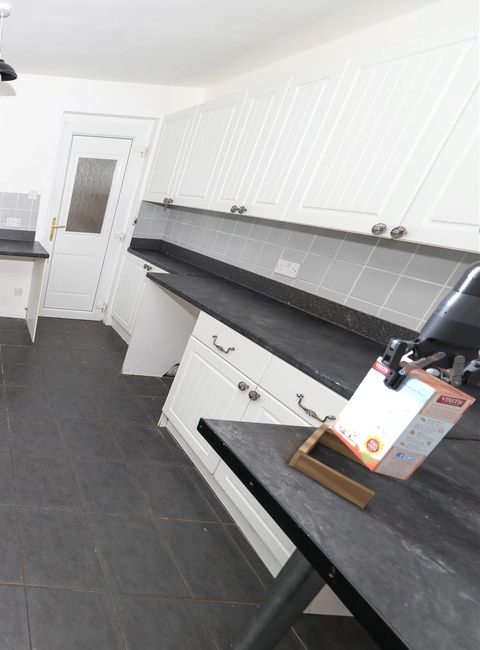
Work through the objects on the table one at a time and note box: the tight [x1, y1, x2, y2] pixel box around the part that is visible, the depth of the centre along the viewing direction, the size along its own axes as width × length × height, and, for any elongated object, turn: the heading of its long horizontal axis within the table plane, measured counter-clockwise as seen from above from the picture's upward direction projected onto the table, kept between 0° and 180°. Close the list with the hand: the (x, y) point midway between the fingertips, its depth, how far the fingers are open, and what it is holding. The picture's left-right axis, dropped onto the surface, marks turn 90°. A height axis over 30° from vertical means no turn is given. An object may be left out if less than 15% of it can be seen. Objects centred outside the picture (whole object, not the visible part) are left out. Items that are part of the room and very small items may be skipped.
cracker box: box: [330, 356, 476, 482], centre depth 70 cm, size 14×6×21 cm, turn 160°
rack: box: [288, 422, 376, 509], centre depth 77 cm, size 19×12×5 cm, turn 122°
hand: (411, 392), depth 67 cm, fingers closed on cracker box, 6 cm apart
